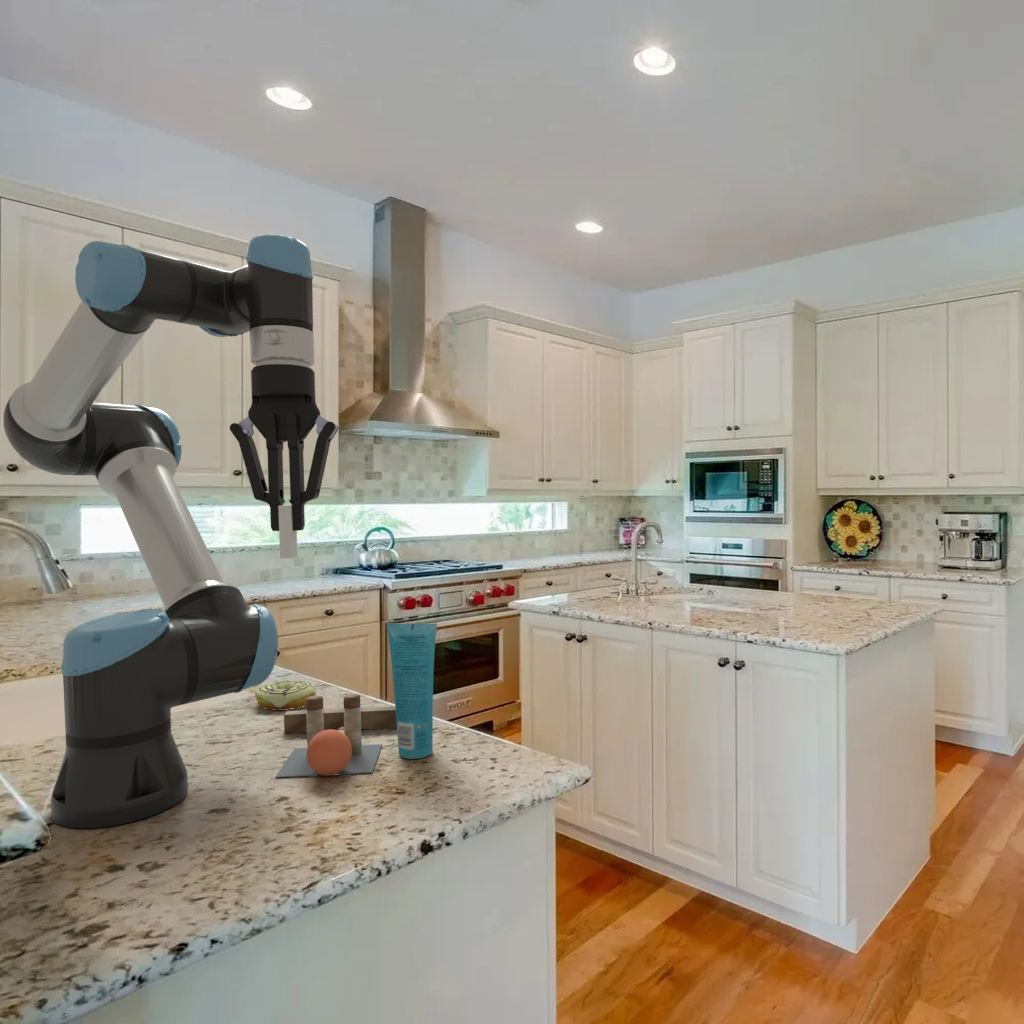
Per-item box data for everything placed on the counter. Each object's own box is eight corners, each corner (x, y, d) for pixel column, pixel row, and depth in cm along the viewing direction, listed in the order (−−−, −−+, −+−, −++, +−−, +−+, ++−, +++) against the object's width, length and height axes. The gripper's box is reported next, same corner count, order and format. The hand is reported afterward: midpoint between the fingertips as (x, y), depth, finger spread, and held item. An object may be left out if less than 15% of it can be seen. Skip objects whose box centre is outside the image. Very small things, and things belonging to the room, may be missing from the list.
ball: (315, 734, 102) (308, 778, 99) (306, 724, 97) (298, 770, 94) (357, 735, 102) (352, 779, 99) (350, 725, 97) (344, 772, 94)
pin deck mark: (275, 778, 97) (275, 776, 97) (294, 749, 108) (294, 748, 108) (372, 773, 98) (372, 771, 98) (381, 745, 109) (381, 744, 109)
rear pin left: (343, 757, 104) (342, 699, 104) (346, 751, 107) (344, 694, 106) (360, 756, 104) (358, 698, 104) (362, 750, 107) (361, 693, 107)
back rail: (284, 733, 116) (283, 714, 116) (287, 729, 118) (286, 711, 118) (409, 727, 117) (408, 709, 117) (410, 723, 119) (409, 705, 119)
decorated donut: (280, 717, 126) (280, 695, 125) (243, 707, 132) (243, 687, 132) (327, 702, 134) (326, 681, 134) (290, 693, 140) (290, 674, 140)
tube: (442, 747, 107) (438, 619, 107) (438, 759, 102) (435, 625, 102) (392, 748, 107) (389, 620, 107) (386, 760, 102) (383, 626, 102)
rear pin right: (306, 758, 104) (304, 700, 104) (309, 753, 106) (308, 696, 106) (322, 758, 104) (321, 700, 104) (326, 752, 106) (324, 695, 106)
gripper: (218, 362, 84) (225, 561, 85) (330, 360, 85) (336, 558, 86) (238, 373, 92) (244, 556, 92) (341, 371, 93) (346, 553, 93)
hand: (288, 557), depth 89 cm, fingers closed
